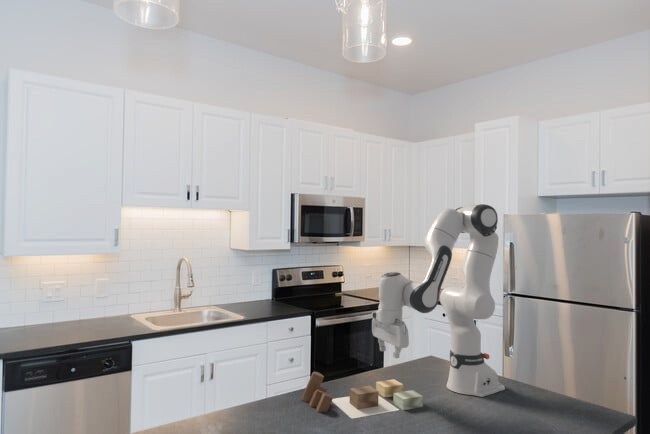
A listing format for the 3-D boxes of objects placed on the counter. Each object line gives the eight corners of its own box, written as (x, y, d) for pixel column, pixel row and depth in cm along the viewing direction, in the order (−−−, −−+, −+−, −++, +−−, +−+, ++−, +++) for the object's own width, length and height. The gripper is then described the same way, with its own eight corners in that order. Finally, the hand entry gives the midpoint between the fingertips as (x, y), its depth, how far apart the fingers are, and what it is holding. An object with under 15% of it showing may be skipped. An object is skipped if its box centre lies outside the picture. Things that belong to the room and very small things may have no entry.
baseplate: (374, 395, 165) (374, 392, 165) (399, 413, 149) (399, 410, 149) (329, 402, 158) (329, 399, 158) (351, 422, 142) (351, 418, 142)
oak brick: (394, 392, 169) (394, 379, 169) (403, 398, 164) (403, 384, 164) (375, 395, 166) (376, 381, 166) (384, 401, 160) (384, 387, 160)
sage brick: (412, 404, 158) (412, 390, 158) (422, 410, 152) (422, 396, 153) (393, 407, 155) (393, 393, 155) (403, 414, 149) (403, 399, 149)
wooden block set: (328, 422, 147) (341, 393, 148) (304, 413, 146) (317, 384, 147) (320, 399, 165) (331, 373, 166) (299, 391, 164) (310, 365, 164)
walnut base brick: (369, 399, 158) (369, 385, 158) (378, 406, 152) (378, 391, 153) (349, 403, 155) (349, 388, 155) (357, 409, 149) (357, 394, 149)
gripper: (413, 321, 157) (412, 361, 157) (383, 311, 176) (382, 346, 175) (398, 322, 154) (397, 363, 154) (369, 312, 173) (368, 348, 173)
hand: (389, 354), depth 165 cm, fingers open, 8 cm apart
